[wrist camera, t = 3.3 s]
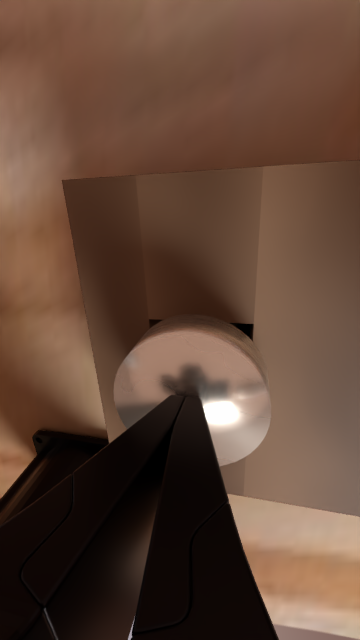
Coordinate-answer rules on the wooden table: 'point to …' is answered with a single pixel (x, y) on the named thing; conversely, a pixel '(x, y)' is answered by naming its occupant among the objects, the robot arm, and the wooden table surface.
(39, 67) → the wooden table surface
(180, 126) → the wooden table surface
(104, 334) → the block
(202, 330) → the plunger
